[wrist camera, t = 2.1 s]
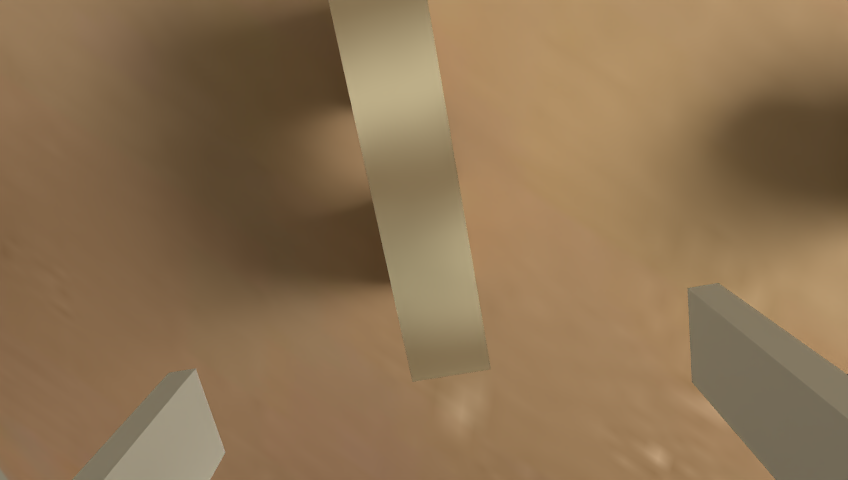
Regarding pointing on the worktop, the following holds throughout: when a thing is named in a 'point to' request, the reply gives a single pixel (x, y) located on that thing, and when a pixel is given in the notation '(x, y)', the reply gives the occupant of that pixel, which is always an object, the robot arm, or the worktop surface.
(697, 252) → the worktop surface
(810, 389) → the robot arm
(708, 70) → the worktop surface
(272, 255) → the worktop surface
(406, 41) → the beige flat block
